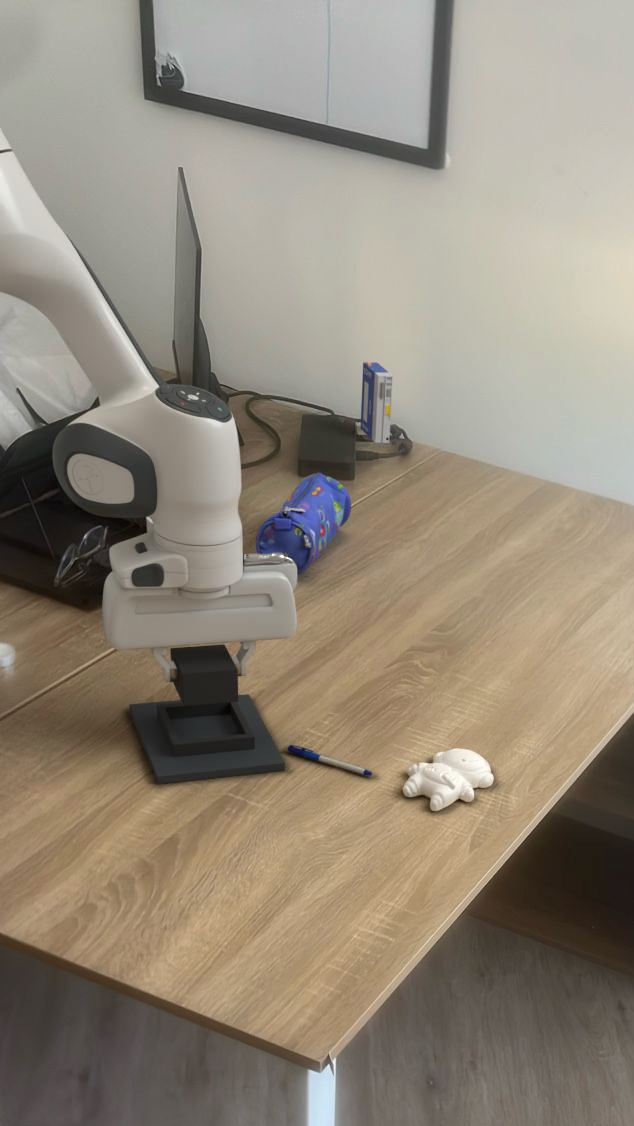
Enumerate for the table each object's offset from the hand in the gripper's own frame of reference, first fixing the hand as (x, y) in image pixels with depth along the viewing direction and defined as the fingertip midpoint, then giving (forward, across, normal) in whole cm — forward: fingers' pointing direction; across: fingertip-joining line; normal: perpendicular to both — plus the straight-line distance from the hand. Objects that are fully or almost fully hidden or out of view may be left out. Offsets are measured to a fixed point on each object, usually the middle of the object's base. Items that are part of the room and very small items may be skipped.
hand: (204, 677), depth 140 cm
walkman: (+8, -54, -100) cm, 114 cm away
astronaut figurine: (+8, -24, +14) cm, 29 cm away
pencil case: (+8, -26, -50) cm, 57 cm away
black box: (+2, 0, 0) cm, 2 cm away
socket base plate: (+8, 0, 0) cm, 8 cm away
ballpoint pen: (+8, -12, +8) cm, 17 cm away
